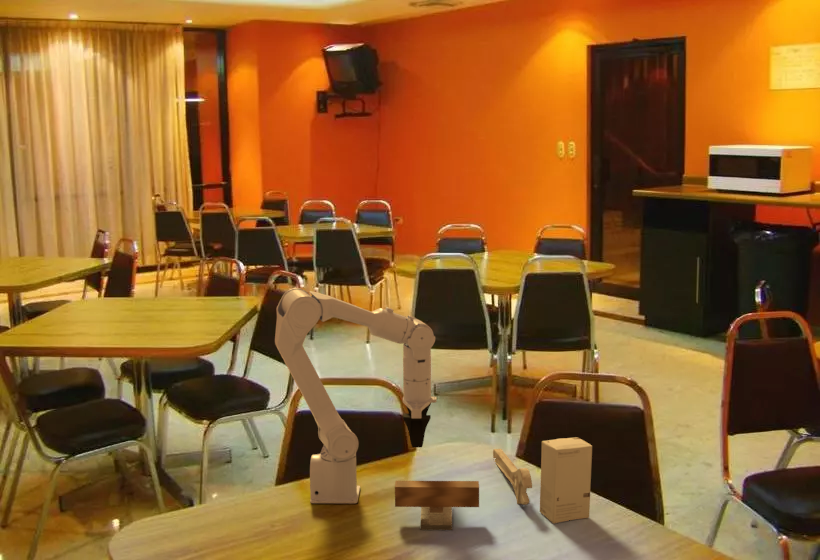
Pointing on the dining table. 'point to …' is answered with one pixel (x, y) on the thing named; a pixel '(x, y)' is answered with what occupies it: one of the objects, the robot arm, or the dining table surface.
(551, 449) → the skincare box
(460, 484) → the walnut bar
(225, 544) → the dining table surface
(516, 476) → the wrench
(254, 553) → the dining table surface
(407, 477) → the dining table surface
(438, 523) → the ridge
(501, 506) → the dining table surface
